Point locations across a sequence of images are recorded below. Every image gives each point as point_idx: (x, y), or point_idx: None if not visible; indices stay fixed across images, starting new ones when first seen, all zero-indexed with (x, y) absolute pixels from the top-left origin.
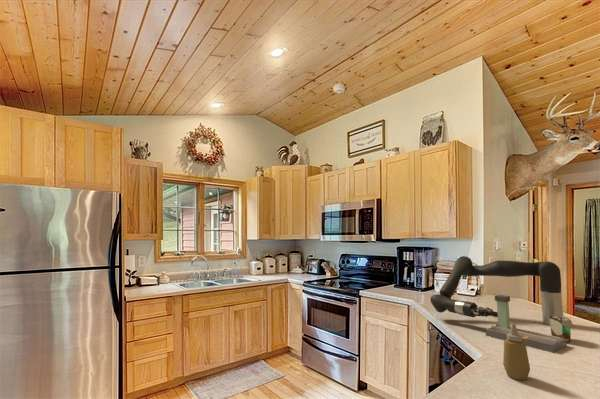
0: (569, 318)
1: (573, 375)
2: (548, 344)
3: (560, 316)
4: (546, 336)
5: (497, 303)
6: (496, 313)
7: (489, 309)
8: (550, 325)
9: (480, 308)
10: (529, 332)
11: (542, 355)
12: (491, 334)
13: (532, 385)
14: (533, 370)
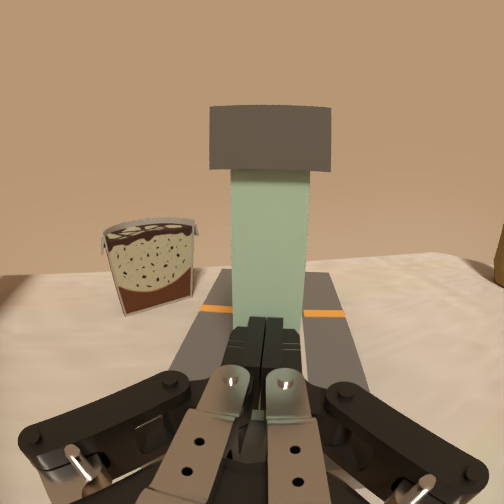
0: (142, 219)
1: (414, 263)
2: (330, 277)
3: (112, 228)
4: None
5: (307, 203)
6: (285, 332)
7: (150, 409)
8: (115, 277)
9: (292, 499)
10: None
11: (376, 297)
12: None
13: None
14: (466, 284)
